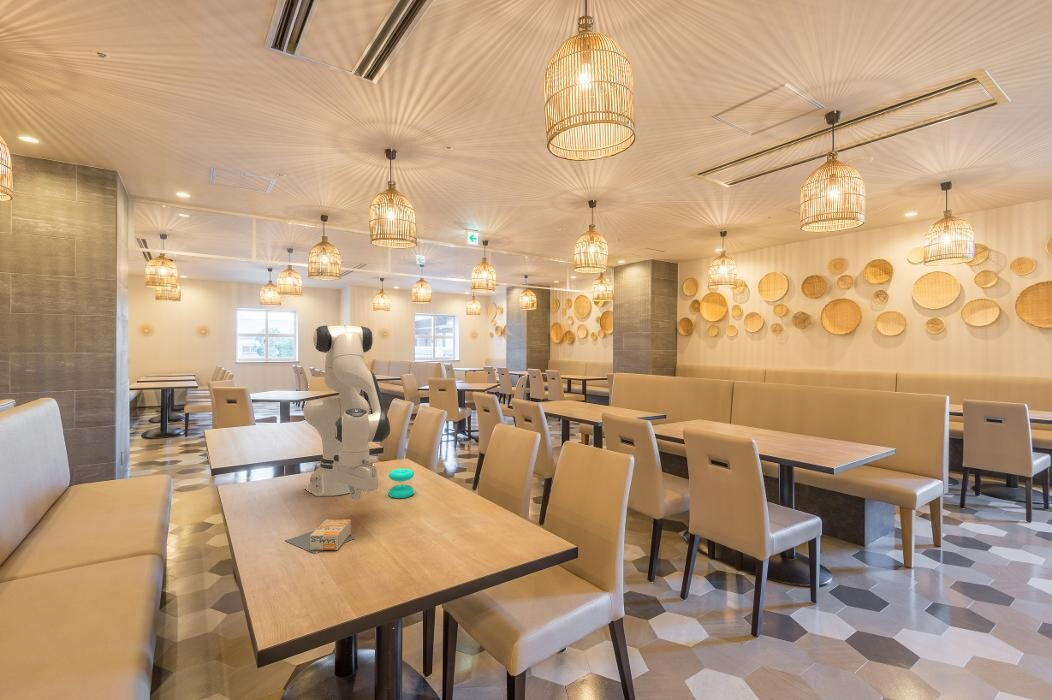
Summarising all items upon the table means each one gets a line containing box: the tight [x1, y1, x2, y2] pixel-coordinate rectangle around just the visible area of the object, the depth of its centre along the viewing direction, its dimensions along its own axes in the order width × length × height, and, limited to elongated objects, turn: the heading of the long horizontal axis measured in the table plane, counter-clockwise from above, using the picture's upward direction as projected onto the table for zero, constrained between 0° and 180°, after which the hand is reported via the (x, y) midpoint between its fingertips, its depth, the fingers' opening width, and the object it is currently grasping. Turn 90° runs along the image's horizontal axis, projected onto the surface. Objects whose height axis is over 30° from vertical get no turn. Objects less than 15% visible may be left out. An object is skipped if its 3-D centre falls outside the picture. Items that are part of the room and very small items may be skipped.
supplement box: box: [310, 518, 352, 551], centre depth 150 cm, size 8×5×13 cm
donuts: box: [388, 468, 415, 499], centre depth 198 cm, size 10×10×10 cm
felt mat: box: [284, 530, 356, 554], centre depth 152 cm, size 16×14×1 cm
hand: (354, 498), depth 163 cm, fingers closed
